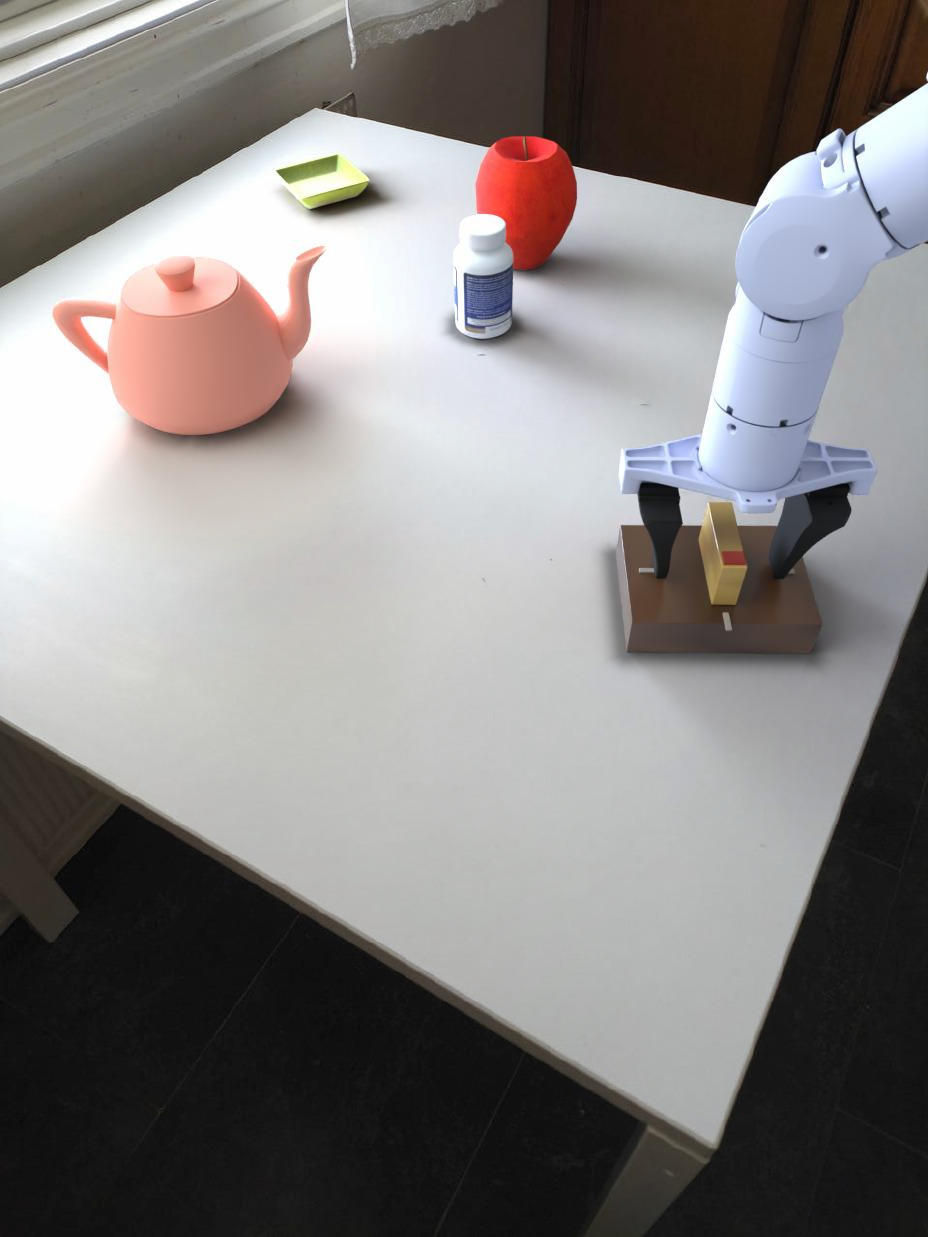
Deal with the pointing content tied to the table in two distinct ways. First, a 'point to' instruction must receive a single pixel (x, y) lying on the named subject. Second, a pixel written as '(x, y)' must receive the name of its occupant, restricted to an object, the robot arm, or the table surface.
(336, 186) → the green square tray
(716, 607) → the lock plate
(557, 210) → the apple
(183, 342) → the teapot
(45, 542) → the table surface
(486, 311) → the pill bottle
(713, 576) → the handle
